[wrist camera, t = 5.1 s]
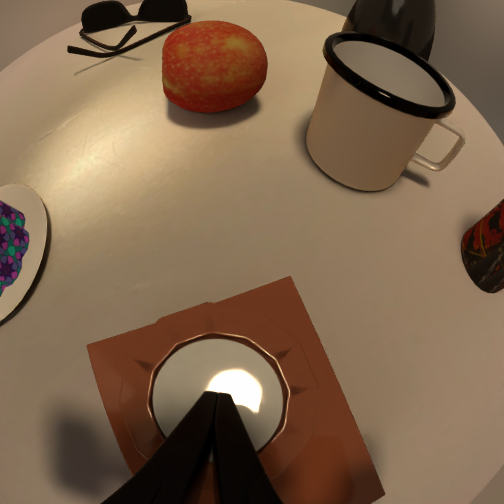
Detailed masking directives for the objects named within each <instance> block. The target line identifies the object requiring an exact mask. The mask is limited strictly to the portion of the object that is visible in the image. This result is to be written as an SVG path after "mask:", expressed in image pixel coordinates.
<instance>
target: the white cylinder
mask: <svg viewBox="0 0 504 504" xmlns="http://www.w3.org/2000/svg"><path fill="white" fill-rule="evenodd" d="M204 391H213V392H217V394H218V393H219V392H221V393H229V394H231V395H232V398H233V400H234V402H235V405H236V407H237V409H238V412H239V414H240V416H241V419H242V421H243V423H244V425H245V428H246V430H247V432H248V434H249V437H250V439H251V441H252V443H253V445H254V448H255V450H256V451H258V450H259V449H260V448H261V447H263V446H264V445H265V444H266V443H267V442H268V441H269V440H270V438H271V437H272V435H273V434H274V433H275V431H276V429H277V427H278V425H279V422H280V419H281V415H282V410H283V394H282V389H281V385H280V382H279V379H278V377H277V375H276V373H275V371H274V370H273V368H272V367H271V366H270V364H269V363H268V362H267V361H266V360H265V359H264V358H263V357H262V356H261V355H260V354H259V353H257V352H256V351H254V350H253V349H251V348H250V347H248V346H246V345H244V344H241V343H238V342H235V341H231V340H226V339H207V340H201V341H197V342H194V343H191V344H189V345H186V346H185V347H183V348H181V349H179V350H178V351H177V352H175V353H174V354H173V355H172V356H171V357H170V358H169V359H168V360H167V361H166V362H165V364H164V365H163V366H162V368H161V370H160V371H159V373H158V375H157V378H156V380H155V384H154V388H153V409H154V414H155V417H156V420H157V422H158V424H159V427H160V429H161V430H162V432H163V433H164V435H165V436H166V437H168V436H169V434H170V433H171V432H172V431H173V430H174V428H175V427H176V426H177V425H178V423H179V422H180V421H181V420H182V419H183V417H184V416H185V415H186V414H187V412H188V411H189V410H190V409H191V407H192V406H193V405H194V404H195V402H196V401H197V400H198V399H199V397H200V396H201V395H202V393H203V392H204ZM212 447H213V446H212ZM210 462H212V453H211V457H210Z"/></svg>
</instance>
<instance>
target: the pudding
mask: <svg viewBox="0 0 504 504" xmlns="http://www.w3.org/2000/svg"><path fill="white" fill-rule="evenodd" d="M46 235H47V217H46V211H45V207H44V205H43V202H42V200H41V198H40V197H39V195H38V194H37V193H36V192H35V191H34V190H33V189H31V188H30V187H28V186H25V185H22V184H8V185H4V186H1V187H0V321H1V320H2V319H4V318H5V317H6V316H7V315H8V314H9V313H11V312H12V311H13V310H14V308H15V307H16V306H17V305H18V304H19V302H20V301H21V300H22V298H23V297H24V295H25V294H26V292H27V291H28V289H29V288H30V286H31V284H32V281H33V279H34V277H35V275H36V273H37V271H38V268H39V265H40V263H41V260H42V256H43V252H44V248H45V243H46Z"/></svg>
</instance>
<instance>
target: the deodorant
mask: <svg viewBox="0 0 504 504" xmlns="http://www.w3.org/2000/svg"><path fill="white" fill-rule="evenodd" d="M461 253H462V258H463V262H464V265H465V267H466V270H467V272H468V274H469V276H470V277H471V279H472V280H473V281H474V283H475V284H476V285H477V286H478V287H479V288H481V289H482V290H484V291H486V292H488V293H495V292H498V291H500V290H502V289H503V288H504V199H503V200H502V201H501V202H500V203H499V204H497V205H496V206H495V207H494V208H493V209H492V210H491V211H490V212H489V213H488V214H486V215H485V216H484V217H483V218H482V219H481V220H480V221H478V222H477V223H476V224H475V225H474V226H473V227H471V228H470V229H469V230H468V231H467V232H466V233H465V234H464V236H463V239H462V243H461Z"/></svg>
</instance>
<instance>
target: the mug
mask: <svg viewBox="0 0 504 504" xmlns="http://www.w3.org/2000/svg"><path fill="white" fill-rule="evenodd" d="M323 55H324V58H325V59H326V61H327V62H328V64H327V67H326V71H325V74H324V77H323V81H322V84H321V88H320V91H319V95H318V98H317V101H316V105H315V108H314V111H313V115H312V118H311V122H310V125H309V128H308V132H307V136H306V145H307V148H308V151H309V153H310V155H311V157H312V159H313V160H314V161H315V163H316V164H317V165H318V166H319V168H321V169H322V170H323V171H324V172H325V173H326V174H327V175H329V176H330V177H332V178H333V179H335V180H336V181H338V182H340V183H342V184H344V185H346V186H349V187H352V188H355V189H359V190H365V191H378V190H382V189H385V188H388V187H390V186H391V185H392V184H393V183H395V182H396V180H397V179H398V177H399V176H400V175H401V173H402V172H403V170H404V169H405V167H406V166H407V164H408V163H409V161H412V162H414V163H416V164H419V165H421V166H423V167H425V168H427V169H429V170H432V171H441V170H443V169H444V168H445V167H446V166H447V165H448V164H449V163H450V162H451V161H452V160H453V159H454V158H455V157H456V155H457V154H458V153H459V151H460V150H461V148H462V147H463V145H464V144H465V135H464V133H463V131H462V130H461V129H460V128H459V127H458V126H456V125H455V124H453V123H452V122H450V121H448V120H447V119H445V118H446V117H448V116H449V115H450V114H451V113H452V111H453V109H454V107H455V104H456V101H455V96H454V93H453V90H452V88H451V87H450V85H449V84H448V82H447V81H446V79H445V78H444V77H443V76H442V75H441V74H440V73H439V72H438V71H437V70H436V69H435V68H434V67H433V66H432V65H431V64H429V63H428V62H427V61H426V60H424V59H423V58H421V57H420V56H419V55H417V54H416V53H414V52H412V51H411V50H409V49H407V48H405V47H403V46H401V45H399V44H397V43H395V42H393V41H390V40H388V39H385V38H382V37H379V36H376V35H372V34H367V33H362V32H354V31H345V32H339V33H335V34H332V35H330V36H329V37H328V38H327V39H326V40H325V43H324V46H323ZM435 123H436V124H438V125H440V126H442V127H444V128H446V129H448V130H449V131H451V132H453V133H455V134H456V135H458V136H459V137H460V138H459V139H458V141H457V142H456V144H455V145H454V147H453V148H452V150H451V151H450V152H449V153H448V154H447V155H446V157H445V158H444V159H443V160H442V161H441V162H440V163H434V162H431V161H429V160H428V159H426V158H424V157H422V156H420V155H419V154H417V153H416V151H417V150H418V148H419V147H420V145H421V144H422V142H423V141H424V139H425V137H426V136H427V134H428V133H429V131H430V130H431V128H432V127H433V125H434V124H435Z"/></svg>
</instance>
